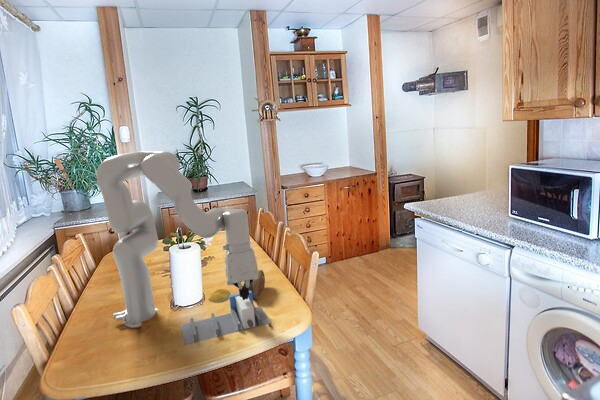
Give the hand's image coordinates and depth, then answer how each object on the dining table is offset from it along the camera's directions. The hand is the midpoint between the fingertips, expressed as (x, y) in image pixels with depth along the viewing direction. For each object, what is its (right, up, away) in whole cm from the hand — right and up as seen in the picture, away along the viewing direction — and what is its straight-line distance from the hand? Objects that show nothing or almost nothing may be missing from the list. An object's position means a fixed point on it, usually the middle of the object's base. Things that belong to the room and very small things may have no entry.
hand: (244, 297), depth 132 cm
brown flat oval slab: (+1, -5, +25) cm, 25 cm away
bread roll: (-13, -7, +21) cm, 26 cm away
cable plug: (+1, -9, 0) cm, 9 cm away
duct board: (-7, -10, +1) cm, 12 cm away
